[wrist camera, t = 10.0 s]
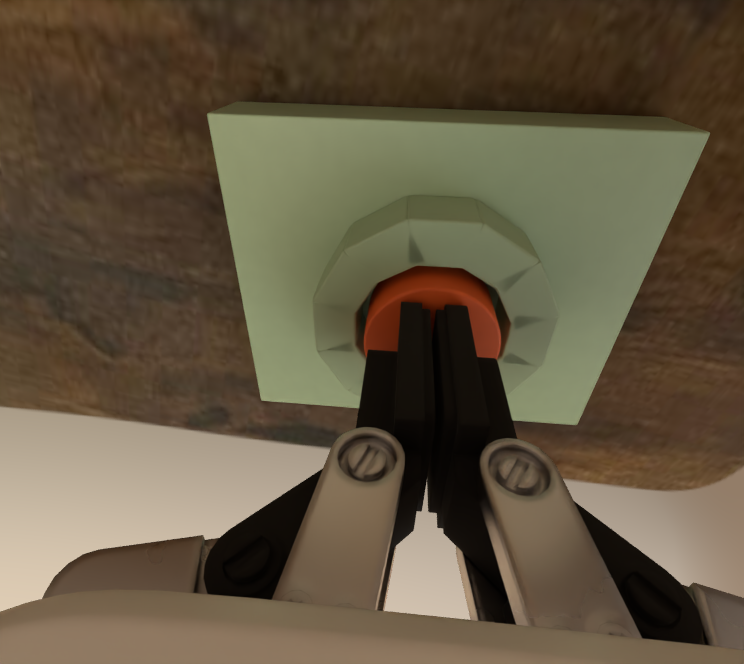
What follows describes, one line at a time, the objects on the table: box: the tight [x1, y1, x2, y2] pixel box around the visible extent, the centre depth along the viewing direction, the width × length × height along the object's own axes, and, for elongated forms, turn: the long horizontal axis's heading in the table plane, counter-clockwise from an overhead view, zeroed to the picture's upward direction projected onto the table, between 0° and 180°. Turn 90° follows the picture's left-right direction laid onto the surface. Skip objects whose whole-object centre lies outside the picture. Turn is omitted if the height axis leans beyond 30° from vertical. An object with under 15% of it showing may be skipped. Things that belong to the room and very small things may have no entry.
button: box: [363, 266, 501, 360], centre depth 12 cm, size 4×4×2 cm
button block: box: [207, 101, 710, 425], centre depth 13 cm, size 12×10×4 cm
